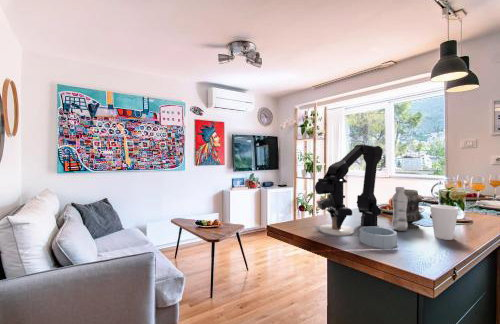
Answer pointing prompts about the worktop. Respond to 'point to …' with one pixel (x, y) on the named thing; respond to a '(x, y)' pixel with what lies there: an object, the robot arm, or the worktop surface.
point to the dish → (378, 237)
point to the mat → (334, 235)
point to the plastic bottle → (399, 210)
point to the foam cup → (444, 221)
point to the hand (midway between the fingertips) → (336, 227)
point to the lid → (336, 229)
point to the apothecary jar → (413, 208)
